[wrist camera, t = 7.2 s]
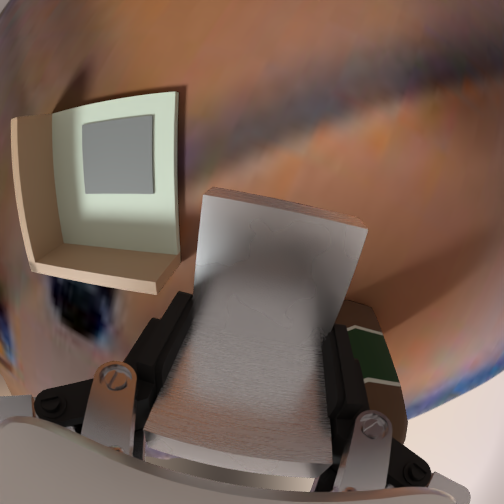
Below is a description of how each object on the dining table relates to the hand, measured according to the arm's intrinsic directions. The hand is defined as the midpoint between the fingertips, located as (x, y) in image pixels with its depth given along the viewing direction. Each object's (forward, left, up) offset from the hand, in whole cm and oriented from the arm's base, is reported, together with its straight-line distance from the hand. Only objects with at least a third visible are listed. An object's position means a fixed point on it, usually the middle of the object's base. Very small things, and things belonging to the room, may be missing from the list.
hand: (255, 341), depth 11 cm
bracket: (+2, 0, -1) cm, 3 cm away
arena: (+3, +17, -15) cm, 23 cm away
